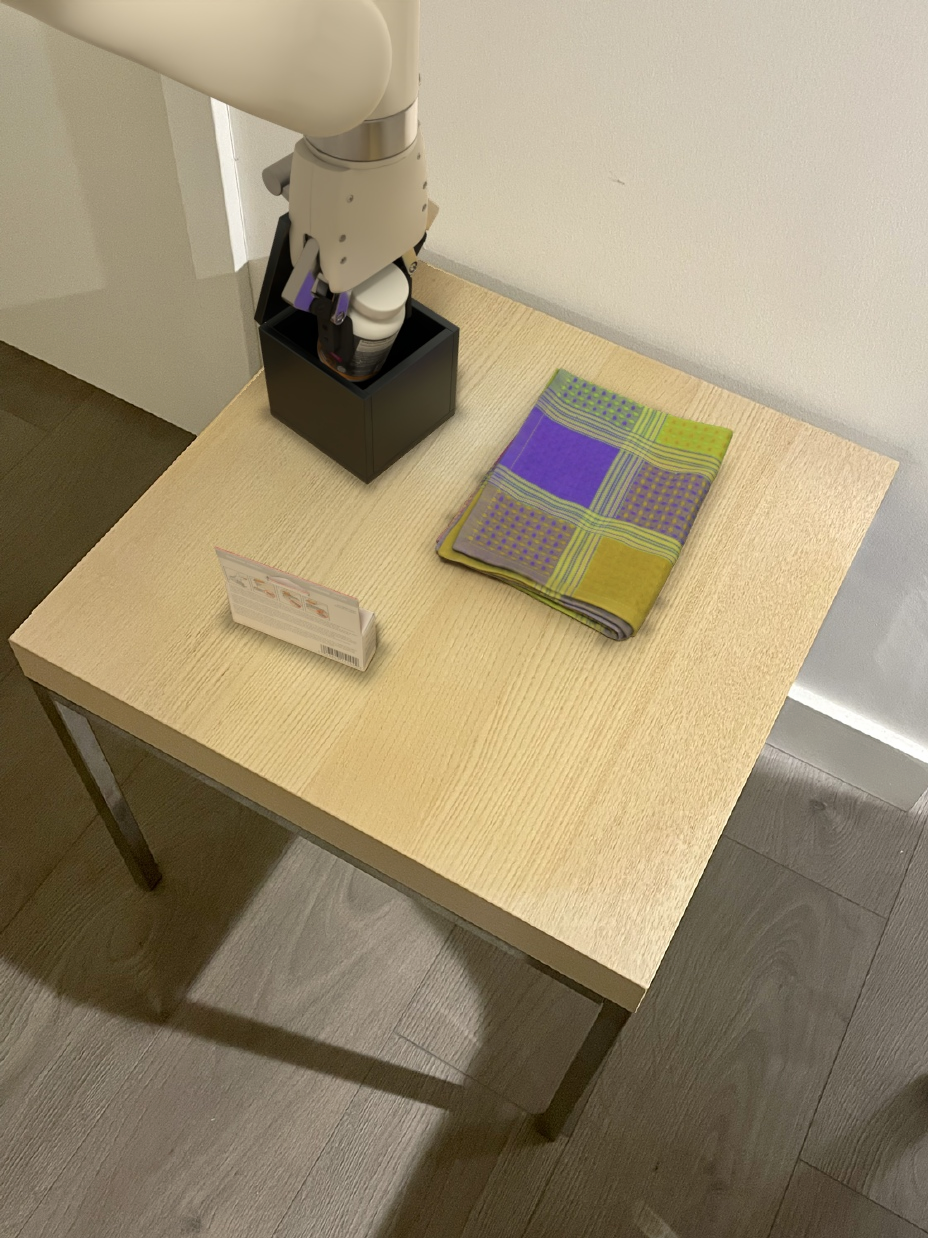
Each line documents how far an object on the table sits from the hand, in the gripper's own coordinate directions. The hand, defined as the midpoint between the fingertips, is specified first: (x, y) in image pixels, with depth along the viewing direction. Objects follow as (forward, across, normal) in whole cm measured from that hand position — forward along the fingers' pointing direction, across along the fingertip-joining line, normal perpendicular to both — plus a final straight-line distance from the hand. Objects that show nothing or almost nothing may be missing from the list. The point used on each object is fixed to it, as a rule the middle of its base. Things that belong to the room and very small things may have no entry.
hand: (365, 328), depth 84 cm
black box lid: (-6, 0, -4) cm, 7 cm away
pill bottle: (+4, 0, -2) cm, 5 cm away
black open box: (+10, 0, -1) cm, 10 cm away
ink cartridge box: (+11, +19, +12) cm, 25 cm away
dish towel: (+11, -6, +20) cm, 23 cm away
